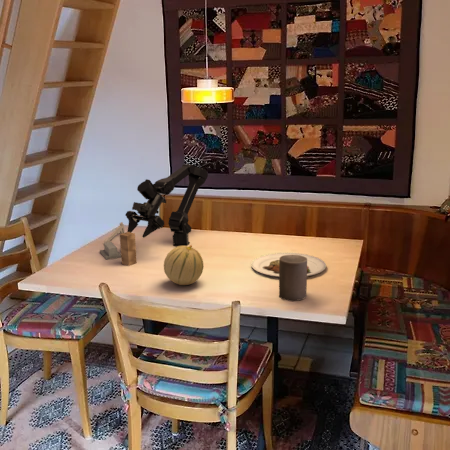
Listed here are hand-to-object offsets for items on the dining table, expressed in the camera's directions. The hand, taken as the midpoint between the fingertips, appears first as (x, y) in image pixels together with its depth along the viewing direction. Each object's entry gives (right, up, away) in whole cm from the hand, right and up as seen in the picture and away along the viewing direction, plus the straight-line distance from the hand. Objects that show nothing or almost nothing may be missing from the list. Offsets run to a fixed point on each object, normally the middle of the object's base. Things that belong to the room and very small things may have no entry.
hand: (135, 235), depth 229 cm
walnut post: (-2, -12, -1) cm, 12 cm away
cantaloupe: (+23, -18, -25) cm, 38 cm away
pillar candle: (+62, -21, -39) cm, 76 cm away
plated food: (+64, -13, -9) cm, 66 cm away
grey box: (-13, -9, +12) cm, 19 cm away
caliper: (-17, -3, +38) cm, 41 cm away
